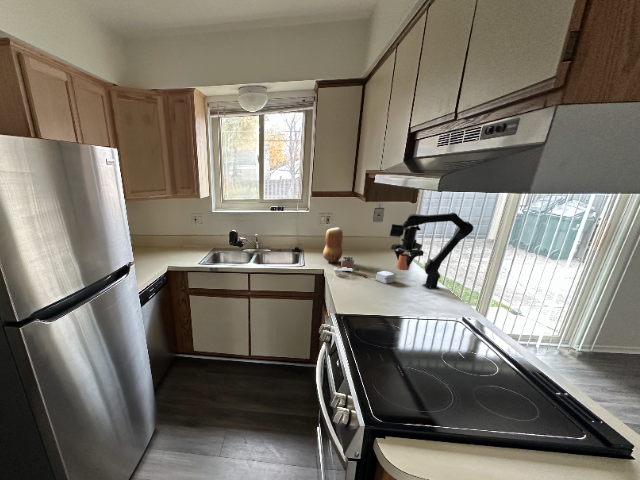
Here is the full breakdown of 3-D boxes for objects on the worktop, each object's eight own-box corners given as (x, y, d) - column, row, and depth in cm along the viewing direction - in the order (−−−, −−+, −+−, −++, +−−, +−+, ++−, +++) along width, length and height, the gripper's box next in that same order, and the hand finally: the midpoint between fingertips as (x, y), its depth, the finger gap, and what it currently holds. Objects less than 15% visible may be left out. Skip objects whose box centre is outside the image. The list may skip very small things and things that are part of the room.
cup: (411, 270, 182) (413, 256, 179) (399, 270, 182) (402, 256, 179) (406, 267, 188) (409, 253, 185) (395, 266, 188) (397, 253, 185)
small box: (375, 280, 195) (376, 272, 193) (384, 278, 198) (386, 270, 196) (385, 284, 188) (386, 275, 186) (395, 282, 191) (396, 273, 189)
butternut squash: (319, 260, 238) (322, 226, 229) (336, 259, 241) (339, 225, 231) (327, 265, 226) (331, 229, 216) (345, 264, 228) (349, 229, 218)
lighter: (352, 270, 213) (354, 256, 209) (353, 272, 210) (355, 257, 206) (340, 270, 215) (342, 255, 211) (340, 271, 212) (342, 256, 208)
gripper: (434, 240, 172) (428, 267, 178) (408, 233, 189) (403, 259, 195) (418, 241, 169) (411, 269, 175) (392, 234, 186) (388, 260, 192)
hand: (403, 264), depth 184 cm, fingers closed on cup, 6 cm apart
